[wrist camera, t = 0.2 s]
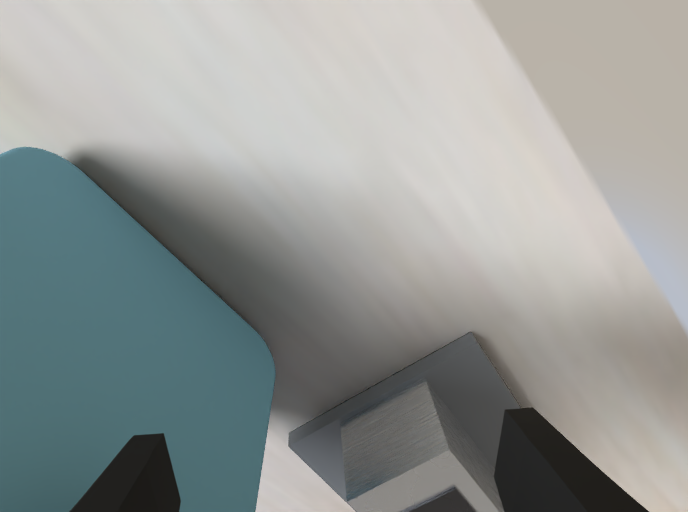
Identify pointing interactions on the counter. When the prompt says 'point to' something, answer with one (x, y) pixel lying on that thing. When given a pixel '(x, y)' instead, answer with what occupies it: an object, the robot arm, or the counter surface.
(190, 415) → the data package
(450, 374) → the flat grey base plate
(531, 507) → the robot arm
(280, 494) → the counter surface
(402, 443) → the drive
